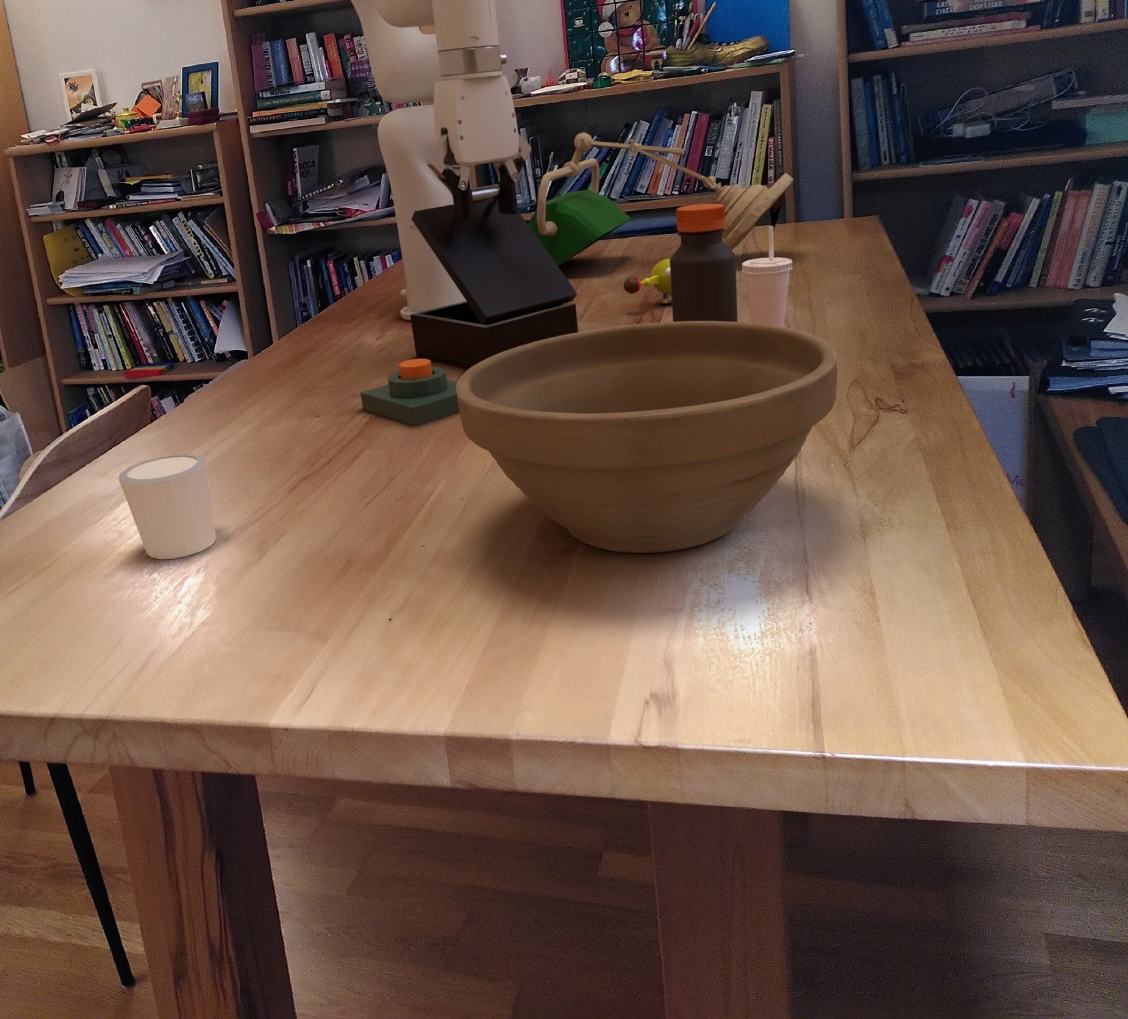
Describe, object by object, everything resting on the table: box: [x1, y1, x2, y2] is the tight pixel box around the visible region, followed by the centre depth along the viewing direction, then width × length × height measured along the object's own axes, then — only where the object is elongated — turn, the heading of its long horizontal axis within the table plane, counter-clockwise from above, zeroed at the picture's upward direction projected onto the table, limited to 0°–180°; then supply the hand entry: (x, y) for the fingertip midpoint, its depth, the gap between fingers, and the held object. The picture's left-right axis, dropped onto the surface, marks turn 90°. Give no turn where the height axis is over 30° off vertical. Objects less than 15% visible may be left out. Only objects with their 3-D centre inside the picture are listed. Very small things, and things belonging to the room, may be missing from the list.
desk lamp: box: [527, 132, 794, 267], centre depth 191 cm, size 35×42×39 cm
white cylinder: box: [118, 453, 217, 560], centre depth 86 cm, size 7×7×7 cm
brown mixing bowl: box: [456, 321, 838, 554], centre depth 81 cm, size 28×28×13 cm
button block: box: [359, 366, 460, 427], centre depth 119 cm, size 11×9×4 cm
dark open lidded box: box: [410, 301, 579, 370], centre depth 140 cm, size 17×15×6 cm
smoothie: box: [741, 225, 793, 328], centre depth 133 cm, size 6×6×14 cm
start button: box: [398, 358, 433, 380], centre depth 118 cm, size 4×4×2 cm
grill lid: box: [411, 183, 578, 325], centre depth 133 cm, size 18×15×6 cm
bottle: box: [669, 203, 739, 322], centre depth 110 cm, size 7×7×20 cm
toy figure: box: [623, 258, 672, 306], centre depth 160 cm, size 18×6×7 cm, turn 131°
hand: (487, 216), depth 133 cm, fingers closed on grill lid, 6 cm apart
